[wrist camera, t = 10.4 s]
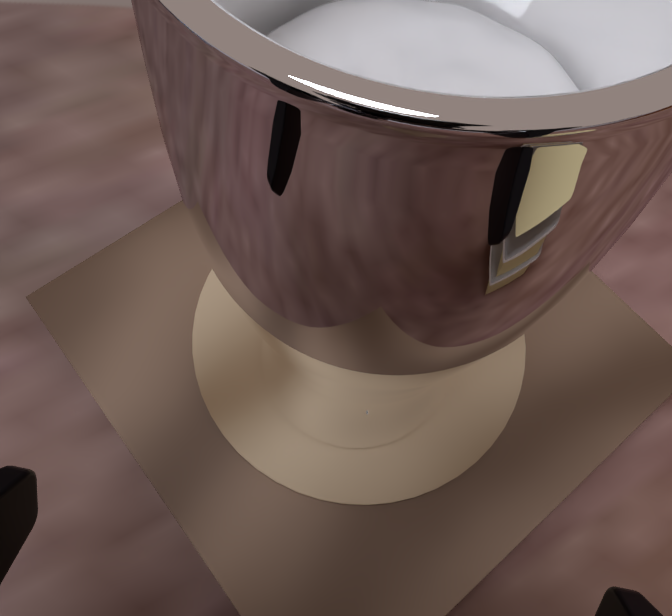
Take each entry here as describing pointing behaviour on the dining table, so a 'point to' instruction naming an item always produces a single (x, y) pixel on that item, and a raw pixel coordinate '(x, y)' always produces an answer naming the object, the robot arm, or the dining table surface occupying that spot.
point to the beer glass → (405, 177)
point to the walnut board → (333, 461)
